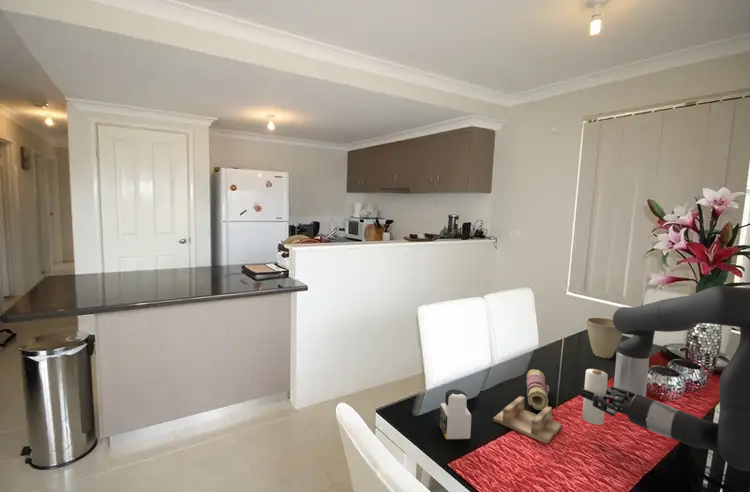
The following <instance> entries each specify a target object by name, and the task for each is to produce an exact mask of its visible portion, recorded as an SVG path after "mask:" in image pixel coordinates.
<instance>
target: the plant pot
mask: <svg viewBox="0 0 750 492" xmlns="http://www.w3.org/2000/svg"><path fill="white" fill-rule="evenodd" d="M586 325H587V326H586V327H587V334H588V339H589V344H590V347H591V351H592V354H593V355H594V354H595V355H594V356H596V357H598V356H599V357H598V358H601V357H602V358H601V359H612V358H613V356H614V355H615V352H617V345H618V343H619V342H621V340H622V337H623V335H624V334H623V333H621V332H619V331H618V330H617V329H616V328H615V326H614V324H613V318H612V319H611V318H605V317H588V318H586Z"/></svg>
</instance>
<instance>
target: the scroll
mask: <svg viewBox="0 0 750 492" xmlns="http://www.w3.org/2000/svg"><path fill="white" fill-rule="evenodd" d="M525 383H526V388H527V389H526V395H527V402H528V405H529V406H531V407H532V408H533V409H535V410H536V411H542V410H543V409H544V408H545V407H546V406H549V397H548V395H549V392H550V391H551V389H550V387H549V384H546V377H545V375H544V373H543V372H542V371H541V370H539V369H530V370H528V372H527V374H526V382H525Z"/></svg>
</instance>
